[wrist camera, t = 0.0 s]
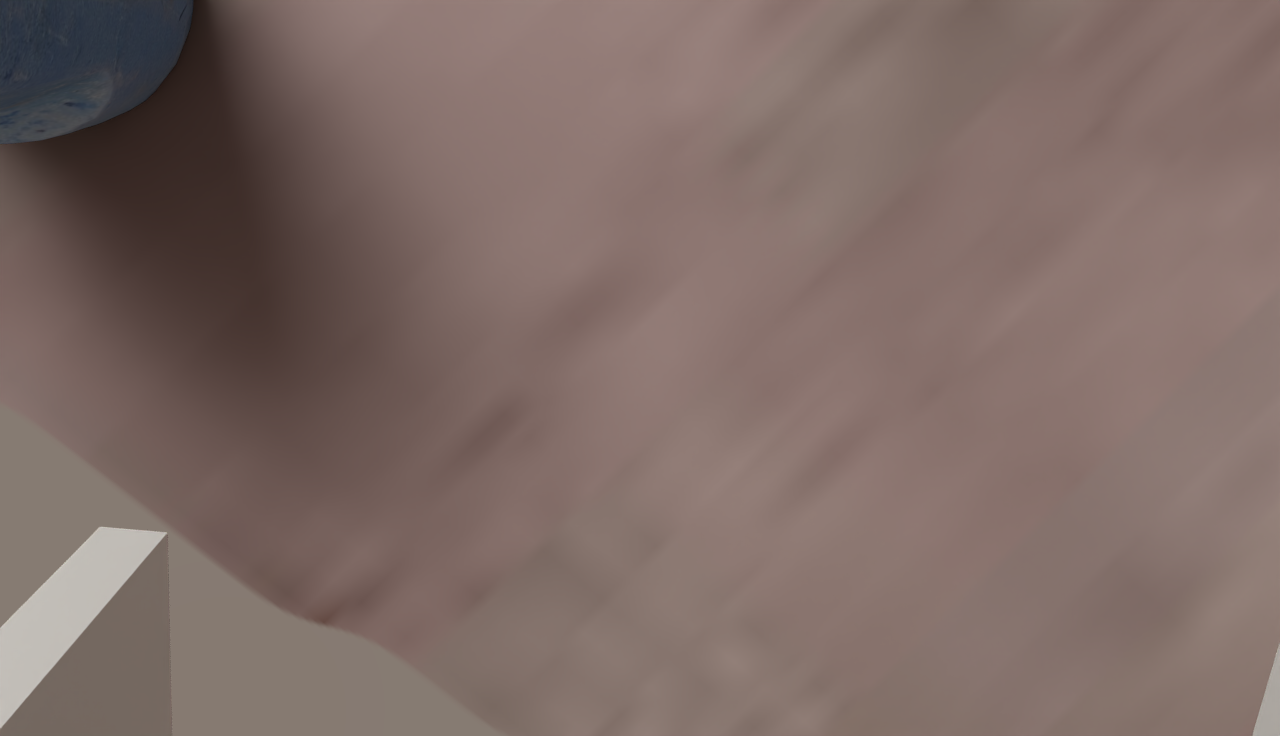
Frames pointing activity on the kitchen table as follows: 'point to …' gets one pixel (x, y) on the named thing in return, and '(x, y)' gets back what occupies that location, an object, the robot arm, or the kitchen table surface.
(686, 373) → the kitchen table surface
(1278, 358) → the kitchen table surface
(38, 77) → the bottle
